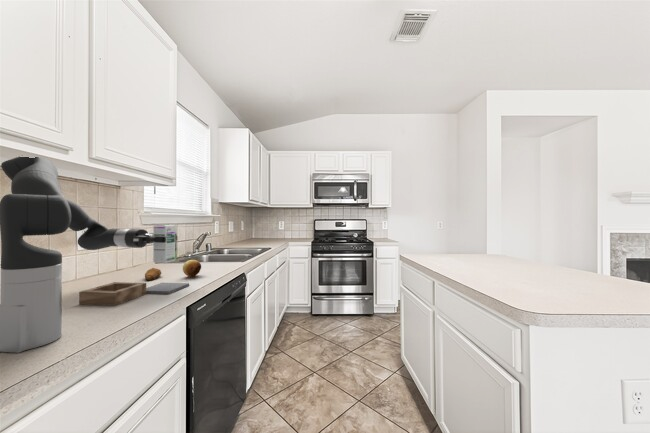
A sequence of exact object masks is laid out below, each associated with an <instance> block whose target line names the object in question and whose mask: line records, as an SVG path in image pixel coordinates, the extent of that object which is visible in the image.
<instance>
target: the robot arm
mask: <svg viewBox="0 0 650 433" xmlns="http://www.w3.org/2000/svg"><path fill="white" fill-rule="evenodd" d="M51 161H52V160H51ZM51 161H49V160H47V159H44V158H39V157H35V158H29V157H20V156H18V157H17V156H16V157H14V158H10V159H8V160H5V161H2V162H1V164H0V165H1V166H0V167H1V170H2V171H3V173H4V174H5V175H6V176H7V177H8V178H9V180H11V184H10V187H11V188H10V189H11V190H10V192H11V193H7V194H5V195H4V196H2V198H0V246H1V247H0V248H1V249H0V251H1V252H0V353H2V352H3V353H22V352H24V351H26V350H33V349H35V348H39V347H41V346H42V347H43V346H45V345H48V344H50V343H53V342H56V341H57V340H59V339H60V338H61V337H62V322H63V320H62V315H63V314H62V311H63V309H62V306H63V304H62V301H63V298H62V294H63V292H62V290H63V286H62V285H63V280H62V279H63V254H62V252H60V251H58V250H57V249H49V248H44V247H43V248H42V247H39V246H35V245H33V244H31V243H28V242H26V241H25V240H24V237H26V236H27V237H28V236H33V237H34V236H53V235H59V234H62V233H65V232H66V231H67V230H68V229H70V230H71V231H74V232H80V231H83V230H85V231H84V232H83V233H82V234H81V235H80V236H79V237H78V239H77V245H78V246H79V247H80V248H82V249H84V250H88V251H96V250H101V249H105V248H106V249H107V248H110V247H120V248H121V247H122V248H134V249H135V248H136V249H139V248H144V247H146V246H147V245H149V244H151V245H152V244H153V243H155V242H158V243H165V242H166V237H156V236H153V232H148V231H147V230H146V229H144V228H110V229H108V227H106V226H105V225H103V224H101V223H99V222H98V221H96V220H95V219H93V218H92V217H91V216H90V215H88V214H87V212H86V211H85V210H84V209H83V208H82V207H81V206H80V205H78V204H77V203H76V202H74V201H71V200H68V199H66V197H65V196H64V195H63V192H62V187H61V185H60V181H59V180H58V177H59V172H58V168H57V167H56V165H55V163H54V162H53V161H52V162H51Z"/></svg>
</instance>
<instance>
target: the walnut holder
mask: <svg viewBox="0 0 650 433" xmlns="http://www.w3.org/2000/svg"><path fill="white" fill-rule="evenodd" d="M146 288H147V283H146V282H126V281H125V282H120V281H118V282H117V281H112V282H110V283H107V284H104V285H100V286H99V285H98V286H95V287H92V288H89V289H84V290H82V291H80V290H79V292H78V296H79V297H78V304H79V305H90V306H91V305H94V306H97V305H98V306H117V305H118V306H119V305H121V304H123V303H126V302H128V301H131V300H134V299H137V298H139V297H142V296H145V295H147V293H146Z"/></svg>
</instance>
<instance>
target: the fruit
mask: <svg viewBox="0 0 650 433" xmlns="http://www.w3.org/2000/svg"><path fill="white" fill-rule="evenodd" d="M201 269H202V264H201V262H200V261H199V260H196V259H190V260H187V261H186V262H184V264H183V266H182V272H183V274H184V275H185V276H187V277H191V278H192V277H193V278H194V277H196V276H197V275H198V274H199V273H200V271H201Z"/></svg>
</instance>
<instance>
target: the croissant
mask: <svg viewBox="0 0 650 433" xmlns="http://www.w3.org/2000/svg"><path fill="white" fill-rule="evenodd" d="M144 273H145V274H144V278H145V280H146V281H147V282H148V281H153V280H156V279H157V278H159V277H160V276H161V275H162V270H161V269H159V268H157V267H156V268H155V267H152V268H150V269H148V270H147V271H146V272H144Z"/></svg>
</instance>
